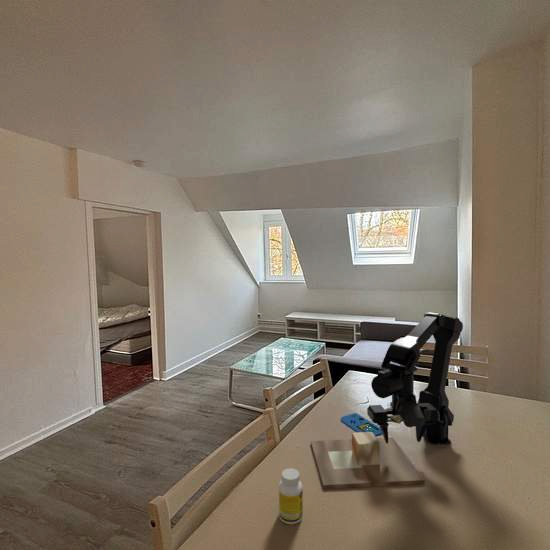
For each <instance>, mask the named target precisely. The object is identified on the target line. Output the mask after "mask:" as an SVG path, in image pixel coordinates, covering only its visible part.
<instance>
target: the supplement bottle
mask: <svg viewBox="0 0 550 550" xmlns="http://www.w3.org/2000/svg"><path fill="white" fill-rule="evenodd" d="M303 496H304V495H303V483H302V482H301V481H300V472H299V471H298V470H297V469H295V468H292V467H290V468H285V469H284V470H283V471H282V472H281V480H279V484H278V517H279V520H280V521H281V522H283V523H284V524H287V525H296V524H298V523H300V521H302V519H303V517H304V516H303V513H304V511H303V509H304V508H303V507H304V506H303V505H304V504H303V502H304V501H303Z"/></svg>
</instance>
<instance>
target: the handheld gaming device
mask: <svg viewBox="0 0 550 550" xmlns="http://www.w3.org/2000/svg"><path fill="white" fill-rule="evenodd" d="M340 421H341V423H343V424H344V423H345V424H344V425H346V426H348V428H350V429H351V428H352V429H351V430H353V431H354V432H355V433H356V432H373V434H374V435H375V437H378V436H380V435H383V434H382V431H381V429H380V426H378V425H377V424H375V423H373V422H372V421H371V420H368V419H367V418H365V417H364V416H362V415H360V414H359V413H357V412H353V413H350V414H347V415H344V416H341V418H340ZM367 426H368V427H367ZM369 427H371V428H369ZM367 429H368V430H367Z"/></svg>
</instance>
